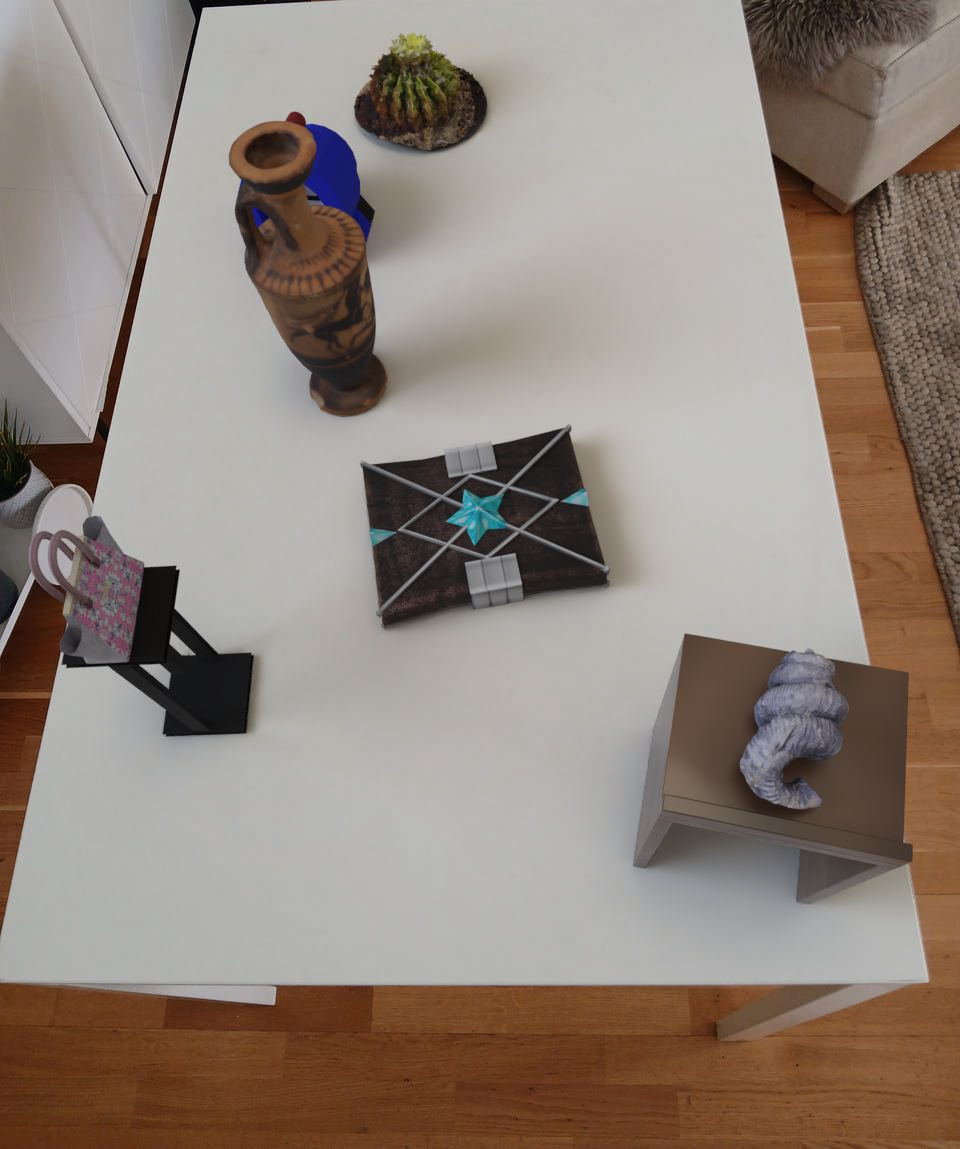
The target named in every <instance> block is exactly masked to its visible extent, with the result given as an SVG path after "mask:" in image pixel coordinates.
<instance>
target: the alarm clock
mask: <svg viewBox="0 0 960 1149" xmlns="http://www.w3.org/2000/svg"><path fill="white" fill-rule="evenodd" d="M284 121H288V122H292V123H295V124H298V125H301V126H303V127H305V128H307V130H309V131H310V132H311V133H312V135H313V139H314V141H315V142H316V145H317V148H316V156H315V161H314V165H313V169H312V172H311V174H310V176H309V178H308V179H307V181H306V182H305V183H304V187H305V192H306V195H307V199H308V203H309V205H325V206H330V207H334V208H337V209H340V210H342V211H343V212H345V213H347V214H348V215H350V216H351V217H352V218H354V219H355V220H356V221H357V223H358V224H359V225H360V227H361V229H362V231H363V233H364V236H365V242H366V243H367V242H368V238H369V235H370V232H371V227H372V224H373V220H374V217H375V213H376V210H375V209H374V208H373V207H372V206H371V204H370V203H369V202H368V201H367V200H366V198H364V196H363V195H362V194H361V179H360V176H359V173H358V163H357V162H358V161H357V160H356V156H355V153H354V150H352V148H351V146H350V145H349V143H348V142H347V141H346V139H344V137H343V136H341V135H340V134H339V133H338V132H337V131H334V130H333V129H330V128H329V127H327V126H325V125H322V124H317V123H307V120H306V118H305V116H304V115H303V114H302V113H301V112H299V111H291V112H289V114H288V115H287V116H286V118H285V120H284ZM242 183H243V181H242V180H241V179H240V182H239V187H238V191H237V193H238V192H239V189H240V187H241V185H242ZM252 210H253V215H254V220H255V223H256V225H257V226H258V227H259V226H261V225H262V224H263V223H264V222H265V221H266V220H267V219H269V217H268V216H267V215H266V214H265V213H264V212H263V211H261V210H259V209H257V208H255V207H252Z"/></svg>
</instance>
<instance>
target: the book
mask: <svg viewBox="0 0 960 1149" xmlns="http://www.w3.org/2000/svg"><path fill="white" fill-rule="evenodd" d="M571 432H572V425H571V424H570V423H568V424H567V425H565V427H560V428H557V429H554V430H549V431H545V432H542V433H537V434H533V435H529V436H525V437H522V438H518V439H514V440H509V441H505V442H500V443H495V444H493V442H492V440H489V441H483V442H478V443H477V442H476V443H473V444H468V445H467V444H466V445H461V446H457V447H451V448H446V449H443V453H444V454H442V455H438V456H431V457H428V458H421V459H413V460H400V461H391V462H380V463H368V462H366V461H364V460H360V461H359V465H360V468H362V475H363V483H364V492H365V499H366V508H367V516H368V517H367V518H368V523H369V530H368V534H369V538H370V542H371V548H372V558H373V564H374V574H375V583H376V584H375V585H376V592H377V602H378V603H377V604H378V609H377V610H376V611H375V614H376V615H377V617H378V618H381V622H382V623H380V625H381V627H382V629H384V630H387V629H388V627H389V626H390V625H393V624H397V623H400V622H403V621H407V620H411V619H414V618H417V617H421V616H424V615H428V614H430V613H434V612H437V611H441V610H445V609H447V608H453V607H459V606H464V605H470V604H472V607H473V610H474V611H475V610H481V609H485V608H491V607H498V606H502V605H508V604H513V603H517V602H524V596H525V595H531V594H532V595H533V594H537V593H542V592H543V593H544V592H551V591H561V590H569V589H580V588H587V587H596V586H597V587H598V586H603V587H605V588H609V587H610V585H611V580H610V579H608V576H609V574H610V571H611V567H609V566H607V565H606V563H605V560H604V555H603V552H602V549H601V545H600V542H599V538H598V534H597V531H596V527H595V523H594V520H593V516H592V513H591V512H592V511H591V509H590V508H591V507H590V504H589V497H588V491H587V490H586V488H585V486H584V483H583V478H582V475H581V471H580V467H579V464H578V460H577V456H576V452H575V449H574V445H573V441H572V437H571Z"/></svg>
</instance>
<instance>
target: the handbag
mask: <svg viewBox="0 0 960 1149" xmlns="http://www.w3.org/2000/svg"><path fill="white" fill-rule="evenodd" d="M62 539H66V540H68V541H69V542H71V543H72V544H73V545H74V546H75V548H74V551H73V549H71V547H69V546H68V544H66V542H64V541H63V540H62ZM43 540H47V541H49V543H48V546H47V547H48V548H47V563H48V568H49V570H50V572H51V575H52V576H53V578H54V579H55V581H56V583H57V584H58V585H59V586H60V587H61V588H62V589H63V590H64V591H65V592H66V593H65V594H64V593H62V592H61V591H60V590H59V589H58V588H56V587H55V586H53V584H51V583H50V582H49V580H47V577H45V575H44V574H43V572H42V570H41V568H40V567H41V566H40V564H39V548H40V545H41V543H42V541H43ZM58 550H60V551H61V552H62V554H64V555H65V556H66V557H67V558H68V560H70V561H71V562H72V563H71V568H70V573H69V578H68V579H67V578H66V577H65V576H64V574H63V572H62V571H61V568H60V567H59V563H58V562H59V561H58ZM28 565H29V569H30V572H31V574H32V576H33V578H34V579H35V581H36V582H37V583H38V584H39V585H40V587H41V588H43V589H44V591H46V592H47V593H48V594H49V595H50V596H52V597H53V598H55V599H57V600H58V601H60V602H62V603H63V604H64V605H63V609H62V615H63V617H64V618H65V621H66V623H67V626H66V628H65V630H64V632H63V634H62V637H61V639H60V641H59V643H58V644H59V650H60V653H61V654H62V660H61V666H65V669H78V668H101V667H108V668H109V669H111V670H112V671H114V672H115V673H116V674H118V676H120V677H122V678H123V679H124V680H125V681H127V682H128V683H129V684H131V685H132V686H133V687H134V688H136V689H137V690H138V691H140V692H141V693H142V694H144V695H145V696H147V697H148V698H149V699H150V700H152V701H153V702H155V703H156V704H157V705H159V706H160V707H161V708H163V709H164V710H165V713H164V721H163V728H162V735H163V736H164V735H165V736H164V737H169V738H170V737H190V736H192V737H193V736H216V735H217V736H218V735H243V734H247V732H248V731H247V730H248V720H249V709H250V698H251V689H252V677H253V667H254V658H255V655H254V654H252V652H230V653H229V652H228V653H218V651H216V649H214V647H213V646H212V645H211V644H210V643H209V642H208V641H207V640H206V639H205V638H204V637H203V636H202V635H201V634H200V633H199V632H198V630H196V629H195V627H193V626H192V625H191V623H190V622H188V621H187V619H186V618H185V617H184V616H183V615H182V614H181V613H180V612H179V611H178V610H177V609H176V608H175V607H176V600H177V593H178V587H179V586H178V585H179V580H180V579H179V578H180V572H181V570H180V569H177V565H160V566H145V562H144V561H141V560H140V559H137V558H135V557H132V556H131V555H128V554H125V553H124V552H123V550H122V549H121V547H120V546H119V544H118V543H117V541H116V539H114V537H113V536H112V534H111V533H110V531H109V528H108V527H107V525H106V523H105V521H104V520H103V518H102V516H99V515H92V516H88V517H86V518H85V520H84V521H83V523H82V535H75V534H74V533H72V532H71V531H69V530H66V529H60V530H57V531H56V532H55V533H52V532H49V531H47V530H40V531H39V532H38V533H36V534H35V535H33V537H32V539H31V541H30V543H29V547H28ZM172 633H173V634H174V635H175V636H176V637H177V639H179V640H180V642H182V643H183V644H184V645H185V646H186V647H187V648H188V649H189V650H190V651H191V652H192V653H193V654H188V655H187V654H186V655H182V654H181V653H180V652H179V651H178V650H177V649H176V648H175V647H174V646H172V644H171V637H172ZM149 665H160V666H161V667H163V669H165V670H166V671H167V672H168V673H169V674H170V677H169V684H168V687H167V686H166V685H165V684H163V683H162V682H161V681H160V680H158V679H157V678H156V677H154V676H153V674H151V672H148V671H147V670H146V669H145V668H144V667H143V666H149Z"/></svg>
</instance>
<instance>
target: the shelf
mask: <svg viewBox="0 0 960 1149" xmlns="http://www.w3.org/2000/svg"><path fill="white" fill-rule="evenodd" d="M789 652H790V651H788V650H783V649H778V648H773V647H766V646H760V645H754V644H749V643H744V642H743V643H742V642H738V641H733V640H725V639H720V638H716V637H715V638H714V637H708V636H703V635H697V634H691V633H684V635H683V638H682V641H681V644H680V646H679V649H678V652H677V656H676V658H675V662H674V664H673V668H672V670H671V672H670V676H669V679H668V683H667V685H666V688H665V691H664V694H663V697H662V700H661V703H660V706H659V709H658V712H657V715H656V718H655V721H654V723H653V726H652V733H651V740H650V747H649V753H648V760H647V768H646V772H645V773H646V775H645V780H644V788H643V795H642V800H641V808H640V813H639V814H640V815H639V821H638V828H637V833H636V841H635V848H634V849H635V850H634V855H633V860H632V866H633V867H635V868H639V869H646V867H647V865H648V864H649V862H650V861H651V859H652V858H653V856H654V854H655V853H656V851H657V849H658V847H659V846H660V844H661V842H662V841H663V840H664V837H665V836H666V835H667V833H668V831H669V829H670V828H671V826H672V825H673V823H674V824H675V823H676V824H680V825H685V826H690V827H694V828H699V829H703V830H709V831H714V832H718V833H723V834H729V835H733V836H738V837H742V838H747V839H752V840H758V841H761V842H765V843H766V842H767V843H771V844H776V845H781V846H785V847H789V848H795V849H799V859H798V874H797V885H796V898H795V899H796V900H795V901H796V903H798V904H799V903H800V904H804V905H810V904H813V903H816V902H818V901H820V900H823V899H825V898H827V897H831V896H833V895H834V894H837V893H839V892H842V891H844V890H847V889H850V888H852V887H854V886H857V885H859V884H862V883H864V882H866V881H869V880H871V879H874V878H876V877H879V876H881V875H883V874H885V873H888V872H891V871H894V870H897V869H898V868H901V867H903V866H905V865H908V864H911V863H912V862H913V855H914V854H913V853H914V845H913V844H912V843H908V842H904V840H905V814H906V813H905V810H906V778H907V749H908V745H907V744H908V717H909V716H908V714H909V683H910V672H909V671H903V670H898V669H891V668H885V667H880V666H874V665H869V664H864V663H863V664H862V663H857V662H853V661H845V660H841V659H835V658H828V657H826V658H827V659H828V660H830V661H832V662H833V663H834V666H835V671H834V672H835V678H834V679H833V680H832V683H833V684H834V686H835V687H836V689H837V691H838V692H840V693H841V694H842V695H844V697H845V698H846V700H847V703H848V707H849V711H848V714H847V716H846V718H845V720H844V721H842V722H840V723H839V724H838V725H839V726H840V728H841V731H842V735H843V741H842V747H841V750H840V751H839V752H838V753H837V754H836V755H835V756H834V757H833V758H830V759H825V760H822V761H817V760H811V759H809V758H805V757H801V758H796V759H794V760H792V761H790V762H789V765H785V766H784V768H783V770H782V771H783V782H788V783H789V782H793V780H794V779H795V777H798V778H804V779H805V781H806V783H807V785H808V786H809V787H810V788H811V789H813V790H814V791H815V792H816V793H817V794H818V795H819V796H820V797H821V798H822V802H821V804H820V806H819V807H818V808H808V809H795V808H788V807H786V806H783V805H780V804H774V803H772V802H770V801H768V800H766V799H764V798H763V799H761V798H760V797H759V796H758V795H757V794H755V793H754V792H753V790H752V789H751V788H750V786H749V784H748V783H747V781H746V778H745V775H743V773H742V772H741V769H740V765H739V764H740V760H741V758H742V756H743V753H744V752H745V749H746V747H747V745H748V743H749V741H750V740H752V736H753V735H755V734H757V731H758V729H759V727H758V725H757V723H756V720H755V718H754V715H755V714H754V707H755V705H756V703H757V702H758V700H759V698H760V697H761V696H763V695H764V693H765V692H766V691H767V690H768V686H767V683H768V681H769V678H770V675H771V673H772V672H773V671H774V670H775V669H776V668H777V667H778V666H779V665H781V660H782V659H783V658H784V656H786V654H787V653H789Z"/></svg>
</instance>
